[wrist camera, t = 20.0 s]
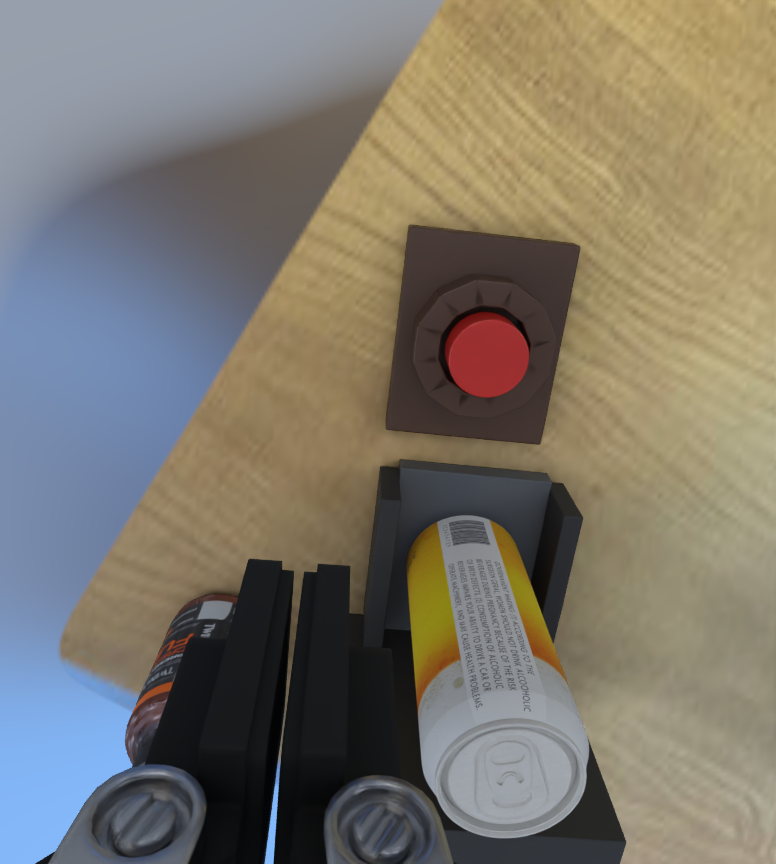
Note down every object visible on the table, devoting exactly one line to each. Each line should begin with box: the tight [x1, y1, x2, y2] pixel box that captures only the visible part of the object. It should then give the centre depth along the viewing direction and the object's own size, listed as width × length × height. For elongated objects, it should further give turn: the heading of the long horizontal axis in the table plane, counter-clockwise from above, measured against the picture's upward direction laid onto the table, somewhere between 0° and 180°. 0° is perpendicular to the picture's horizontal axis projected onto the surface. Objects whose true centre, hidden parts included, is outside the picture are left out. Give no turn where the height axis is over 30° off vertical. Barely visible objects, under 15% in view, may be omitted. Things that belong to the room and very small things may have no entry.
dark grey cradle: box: [349, 459, 626, 864], centre depth 34 cm, size 12×16×14 cm
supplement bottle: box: [125, 594, 238, 768], centre depth 36 cm, size 6×6×11 cm
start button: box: [445, 312, 529, 398], centre depth 32 cm, size 4×4×2 cm
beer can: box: [406, 515, 589, 838], centre depth 32 cm, size 6×6×15 cm
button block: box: [386, 225, 580, 445], centre depth 34 cm, size 8×10×3 cm
